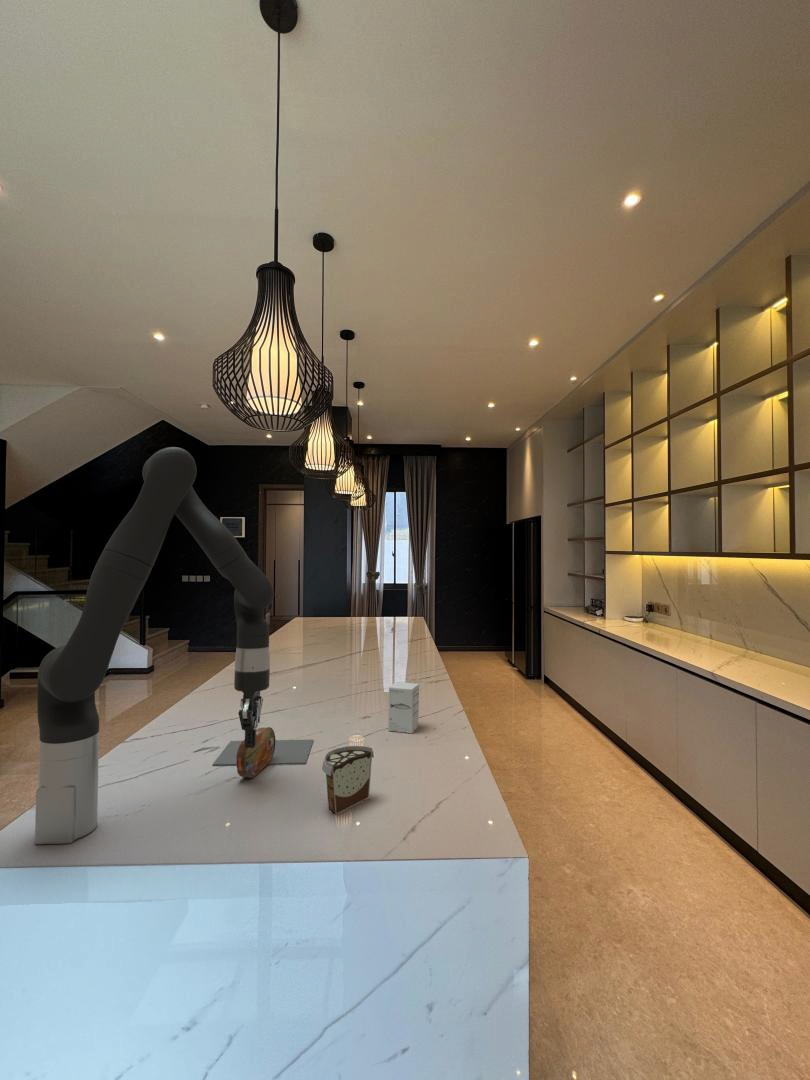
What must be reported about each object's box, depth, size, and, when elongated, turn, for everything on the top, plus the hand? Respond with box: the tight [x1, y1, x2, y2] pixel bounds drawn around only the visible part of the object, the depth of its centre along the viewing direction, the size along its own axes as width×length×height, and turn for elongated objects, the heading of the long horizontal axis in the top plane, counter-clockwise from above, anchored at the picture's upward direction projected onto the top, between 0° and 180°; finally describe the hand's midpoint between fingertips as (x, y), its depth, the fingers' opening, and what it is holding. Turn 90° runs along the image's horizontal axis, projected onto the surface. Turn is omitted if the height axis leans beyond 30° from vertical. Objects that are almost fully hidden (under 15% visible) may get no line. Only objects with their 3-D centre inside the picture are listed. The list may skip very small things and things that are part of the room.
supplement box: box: [387, 681, 420, 734], centre depth 154 cm, size 7×7×13 cm
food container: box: [321, 745, 375, 816], centre depth 108 cm, size 12×6×10 cm, turn 141°
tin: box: [236, 726, 276, 779], centre depth 124 cm, size 15×3×8 cm, turn 168°
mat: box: [211, 739, 314, 767], centre depth 135 cm, size 16×22×1 cm
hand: (250, 746), depth 117 cm, fingers closed
